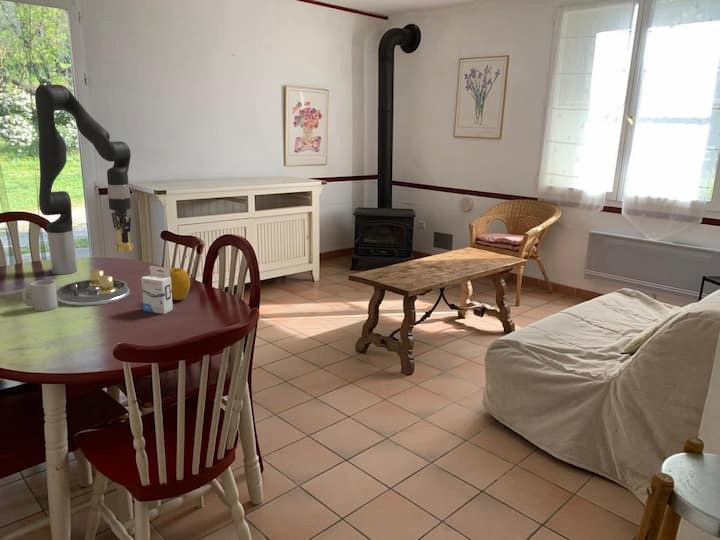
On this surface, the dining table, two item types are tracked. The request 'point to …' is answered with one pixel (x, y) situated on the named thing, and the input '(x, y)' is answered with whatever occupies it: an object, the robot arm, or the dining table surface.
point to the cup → (41, 295)
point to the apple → (179, 283)
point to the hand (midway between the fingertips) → (123, 241)
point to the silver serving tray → (93, 291)
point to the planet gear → (119, 244)
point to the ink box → (157, 291)
